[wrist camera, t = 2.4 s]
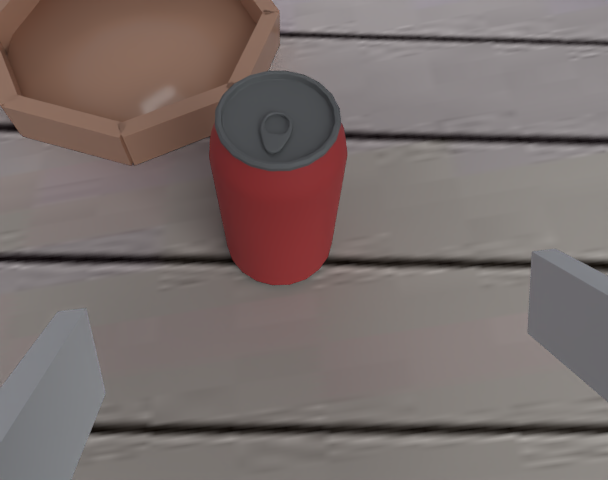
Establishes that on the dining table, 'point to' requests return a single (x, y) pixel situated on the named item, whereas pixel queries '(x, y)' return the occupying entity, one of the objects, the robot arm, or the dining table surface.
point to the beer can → (278, 174)
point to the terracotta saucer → (128, 69)
